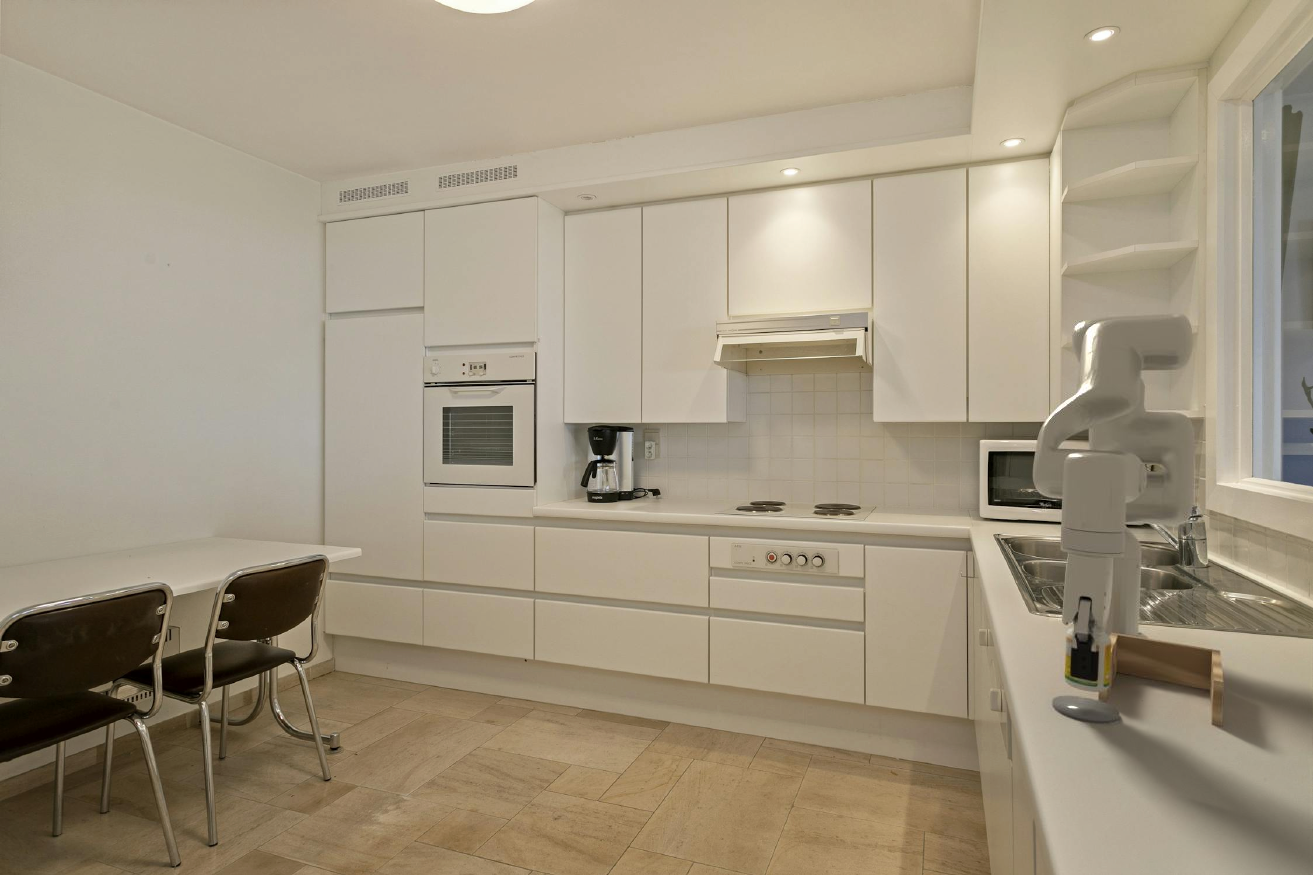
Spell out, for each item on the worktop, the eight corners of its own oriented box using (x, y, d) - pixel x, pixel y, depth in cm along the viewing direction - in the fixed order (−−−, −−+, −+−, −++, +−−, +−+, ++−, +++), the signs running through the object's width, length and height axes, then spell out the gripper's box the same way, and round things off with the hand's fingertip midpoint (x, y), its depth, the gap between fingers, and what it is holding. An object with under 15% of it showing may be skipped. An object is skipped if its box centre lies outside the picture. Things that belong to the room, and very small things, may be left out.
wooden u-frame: (1109, 668, 117) (1111, 632, 117) (1218, 689, 109) (1220, 650, 109) (1098, 699, 104) (1099, 658, 104) (1221, 726, 95) (1223, 681, 95)
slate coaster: (1056, 695, 105) (1057, 691, 105) (1121, 709, 100) (1122, 705, 100) (1047, 712, 99) (1048, 707, 99) (1116, 728, 94) (1116, 723, 94)
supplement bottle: (1081, 693, 97) (1084, 622, 96) (1055, 678, 102) (1058, 611, 102) (1118, 692, 97) (1121, 622, 97) (1091, 678, 102) (1093, 611, 102)
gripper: (1069, 532, 108) (1064, 651, 109) (1051, 546, 94) (1045, 683, 95) (1129, 538, 104) (1123, 662, 104) (1118, 554, 90) (1112, 697, 90)
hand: (1086, 671), depth 99 cm, fingers closed on supplement bottle, 5 cm apart
